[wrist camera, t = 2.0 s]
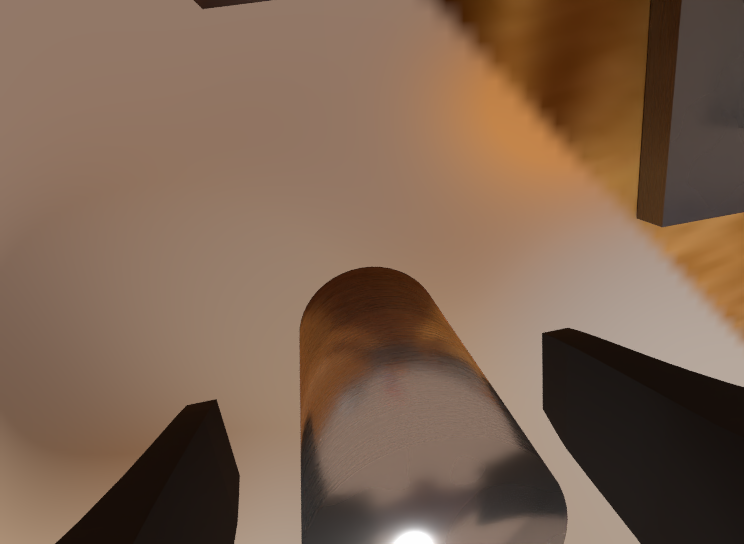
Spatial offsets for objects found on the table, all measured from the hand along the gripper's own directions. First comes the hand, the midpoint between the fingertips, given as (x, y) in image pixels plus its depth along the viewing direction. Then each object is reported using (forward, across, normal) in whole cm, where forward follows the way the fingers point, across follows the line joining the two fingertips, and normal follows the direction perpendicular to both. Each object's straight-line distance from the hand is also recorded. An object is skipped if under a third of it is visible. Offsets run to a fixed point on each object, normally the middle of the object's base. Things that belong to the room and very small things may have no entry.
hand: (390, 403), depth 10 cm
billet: (+3, 0, 0) cm, 3 cm away
